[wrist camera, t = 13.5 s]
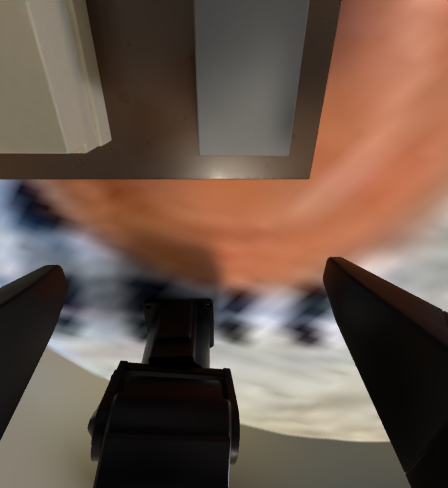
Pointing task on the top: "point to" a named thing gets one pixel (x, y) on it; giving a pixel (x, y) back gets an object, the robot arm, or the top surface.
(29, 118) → the cream book
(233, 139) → the grey rectangular block
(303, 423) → the top surface
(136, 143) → the walnut board
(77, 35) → the cream books
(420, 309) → the robot arm
